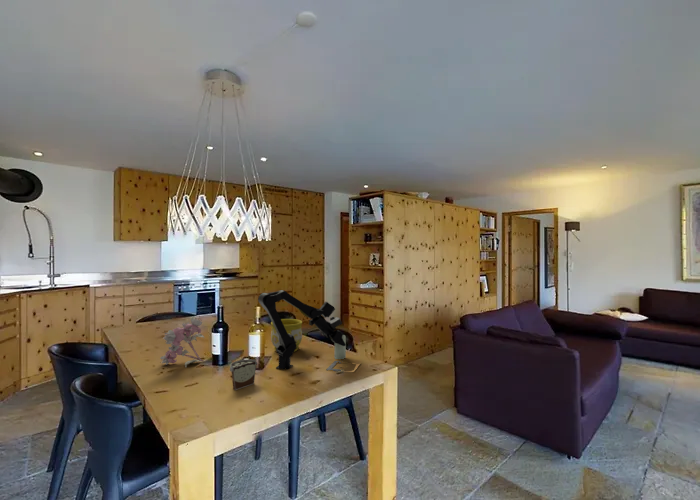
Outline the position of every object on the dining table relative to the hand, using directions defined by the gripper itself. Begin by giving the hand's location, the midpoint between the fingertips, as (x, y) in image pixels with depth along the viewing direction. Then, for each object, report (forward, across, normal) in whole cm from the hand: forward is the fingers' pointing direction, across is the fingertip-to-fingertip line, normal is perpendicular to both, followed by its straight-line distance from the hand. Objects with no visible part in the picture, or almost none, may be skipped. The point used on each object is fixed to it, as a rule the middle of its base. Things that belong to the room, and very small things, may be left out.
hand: (341, 343), depth 191 cm
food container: (-33, -17, +45) cm, 58 cm away
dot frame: (+2, -14, +9) cm, 17 cm away
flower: (-50, +23, +62) cm, 83 cm away
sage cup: (+5, 0, +6) cm, 8 cm away
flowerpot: (-10, +27, +22) cm, 36 cm away
